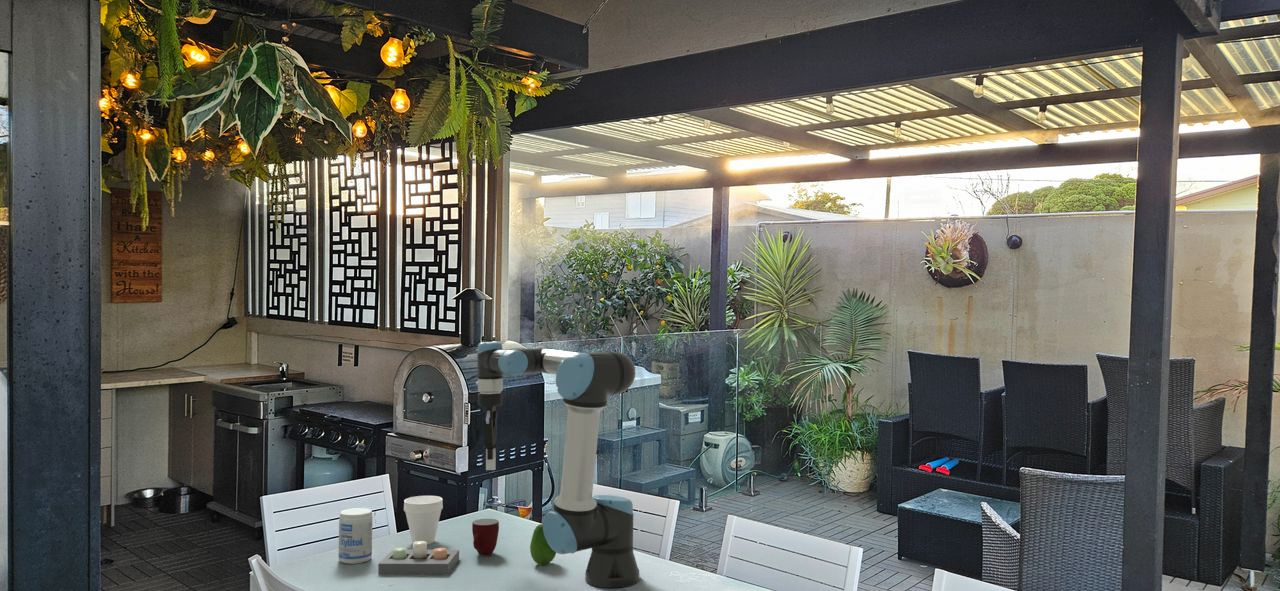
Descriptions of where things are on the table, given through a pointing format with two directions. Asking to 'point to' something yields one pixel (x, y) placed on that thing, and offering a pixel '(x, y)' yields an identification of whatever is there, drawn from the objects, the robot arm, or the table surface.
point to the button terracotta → (440, 553)
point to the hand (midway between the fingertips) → (490, 469)
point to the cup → (423, 517)
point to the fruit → (541, 547)
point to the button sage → (400, 553)
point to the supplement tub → (355, 535)
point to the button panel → (418, 564)
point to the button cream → (420, 549)
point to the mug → (485, 535)
